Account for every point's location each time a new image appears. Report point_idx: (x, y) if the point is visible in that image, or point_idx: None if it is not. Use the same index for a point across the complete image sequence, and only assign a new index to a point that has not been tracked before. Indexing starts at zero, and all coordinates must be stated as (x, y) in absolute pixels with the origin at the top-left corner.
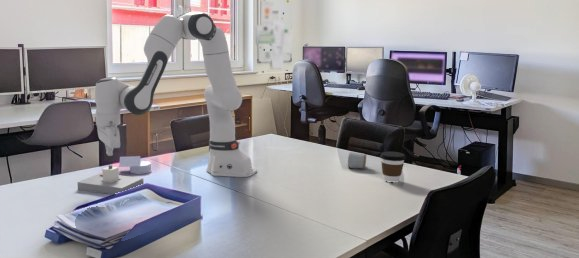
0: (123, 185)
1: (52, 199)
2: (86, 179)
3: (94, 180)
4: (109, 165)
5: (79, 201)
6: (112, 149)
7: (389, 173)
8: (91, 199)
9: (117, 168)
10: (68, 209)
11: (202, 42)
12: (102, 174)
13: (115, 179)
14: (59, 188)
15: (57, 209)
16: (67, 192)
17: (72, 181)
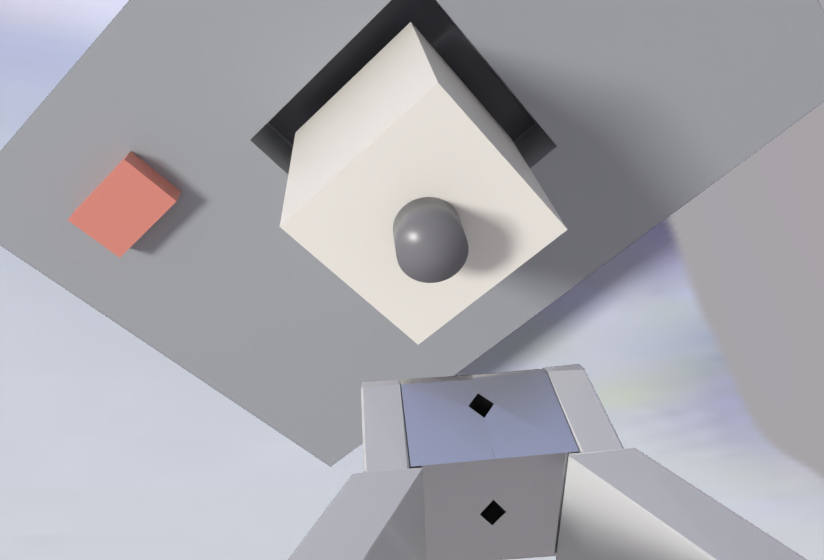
0: (759, 30)
1: None
2: (249, 391)
3: (332, 324)
4: (411, 263)
5: (677, 415)
6: (698, 509)
7: None
8: (690, 336)
9: (453, 99)
10: (802, 480)
11: None
12: (124, 223)
13: (470, 95)
14: (227, 518)
15: None
16: None
17: (3, 432)
